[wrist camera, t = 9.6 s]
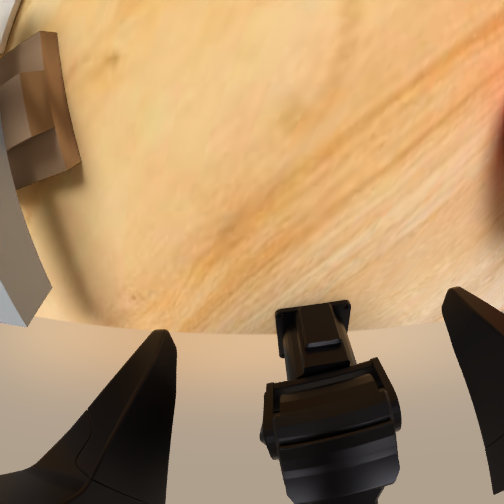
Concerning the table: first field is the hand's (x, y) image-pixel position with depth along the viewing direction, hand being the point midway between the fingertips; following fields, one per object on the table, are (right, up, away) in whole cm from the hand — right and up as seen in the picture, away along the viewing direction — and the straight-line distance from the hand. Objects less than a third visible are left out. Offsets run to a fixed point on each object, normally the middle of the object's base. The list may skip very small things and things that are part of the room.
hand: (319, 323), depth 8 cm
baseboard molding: (-20, +31, -6) cm, 38 cm away
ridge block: (-18, +12, +6) cm, 23 cm away
